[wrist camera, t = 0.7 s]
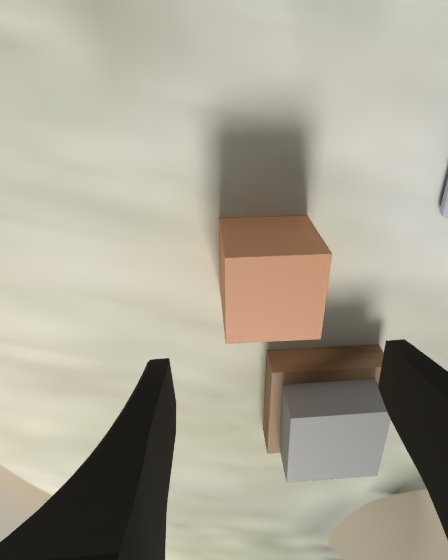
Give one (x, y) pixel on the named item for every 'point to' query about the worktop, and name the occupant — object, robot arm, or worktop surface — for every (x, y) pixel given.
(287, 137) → the worktop surface
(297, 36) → the worktop surface
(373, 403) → the grey slab
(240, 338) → the terracotta cube
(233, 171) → the worktop surface
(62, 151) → the worktop surface
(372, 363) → the walnut slab
